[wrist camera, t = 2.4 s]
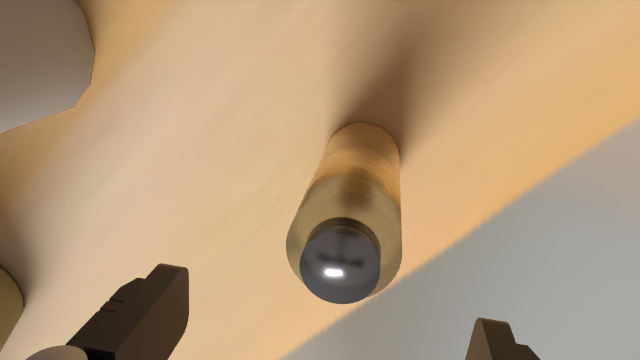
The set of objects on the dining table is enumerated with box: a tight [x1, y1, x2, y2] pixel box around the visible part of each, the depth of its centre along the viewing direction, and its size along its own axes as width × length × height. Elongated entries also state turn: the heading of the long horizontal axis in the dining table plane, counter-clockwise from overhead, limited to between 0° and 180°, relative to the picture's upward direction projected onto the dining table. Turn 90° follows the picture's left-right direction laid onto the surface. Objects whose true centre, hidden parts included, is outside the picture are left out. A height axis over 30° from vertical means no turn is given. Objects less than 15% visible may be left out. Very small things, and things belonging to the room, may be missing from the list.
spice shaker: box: [286, 123, 402, 304], centre depth 20 cm, size 4×4×11 cm
